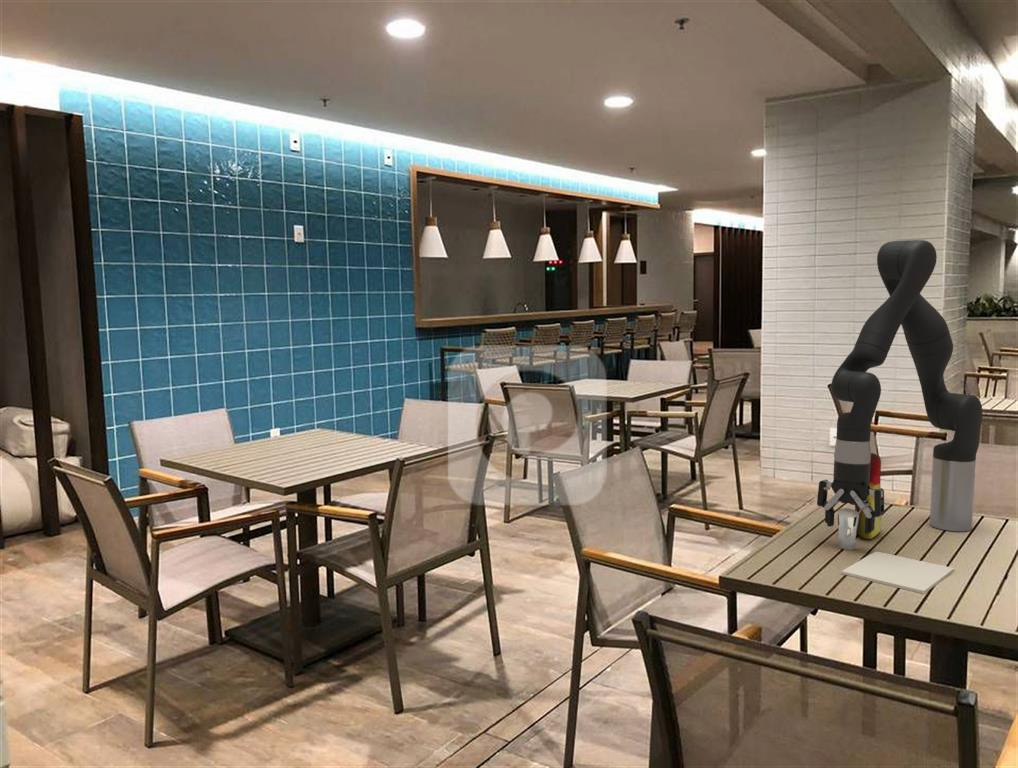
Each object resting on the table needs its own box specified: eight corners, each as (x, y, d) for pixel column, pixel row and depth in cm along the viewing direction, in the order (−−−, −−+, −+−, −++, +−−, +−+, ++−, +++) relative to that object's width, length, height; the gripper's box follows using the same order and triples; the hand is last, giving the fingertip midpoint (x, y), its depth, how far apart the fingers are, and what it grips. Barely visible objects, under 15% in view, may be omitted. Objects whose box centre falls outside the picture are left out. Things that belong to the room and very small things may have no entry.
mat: (875, 553, 178) (875, 551, 178) (954, 570, 167) (954, 568, 167) (841, 573, 166) (841, 571, 166) (923, 593, 154) (924, 590, 154)
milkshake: (863, 551, 180) (865, 508, 179) (838, 550, 181) (839, 507, 180) (859, 545, 184) (860, 503, 183) (834, 544, 185) (835, 502, 184)
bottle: (879, 543, 186) (882, 458, 183) (849, 539, 189) (852, 456, 187) (884, 530, 196) (887, 450, 194) (856, 526, 199) (859, 447, 197)
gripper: (891, 461, 178) (887, 532, 179) (828, 452, 188) (825, 520, 190) (878, 466, 173) (874, 539, 174) (814, 457, 183) (811, 526, 184)
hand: (848, 529), depth 182 cm, fingers open, 8 cm apart
